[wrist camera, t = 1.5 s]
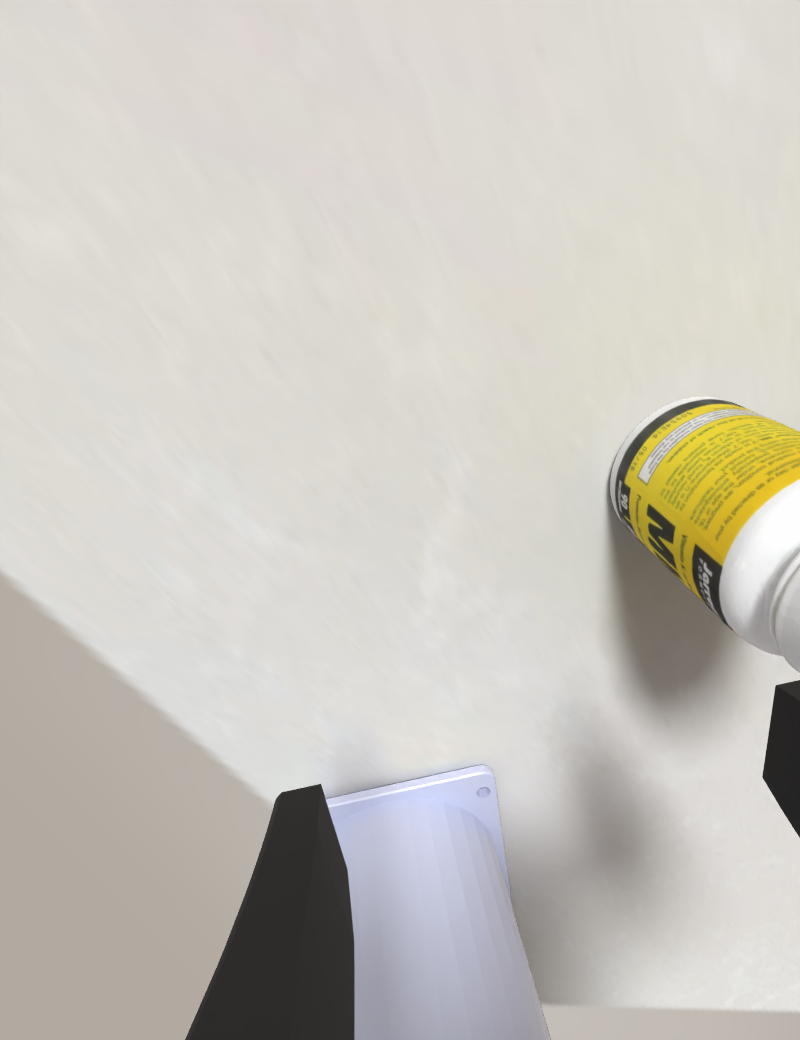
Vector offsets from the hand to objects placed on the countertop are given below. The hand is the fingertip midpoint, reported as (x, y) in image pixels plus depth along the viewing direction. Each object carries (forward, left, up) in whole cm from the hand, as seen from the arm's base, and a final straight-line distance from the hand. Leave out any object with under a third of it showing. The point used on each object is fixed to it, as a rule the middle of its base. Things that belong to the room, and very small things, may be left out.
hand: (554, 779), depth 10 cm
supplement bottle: (0, -7, -10) cm, 13 cm away
